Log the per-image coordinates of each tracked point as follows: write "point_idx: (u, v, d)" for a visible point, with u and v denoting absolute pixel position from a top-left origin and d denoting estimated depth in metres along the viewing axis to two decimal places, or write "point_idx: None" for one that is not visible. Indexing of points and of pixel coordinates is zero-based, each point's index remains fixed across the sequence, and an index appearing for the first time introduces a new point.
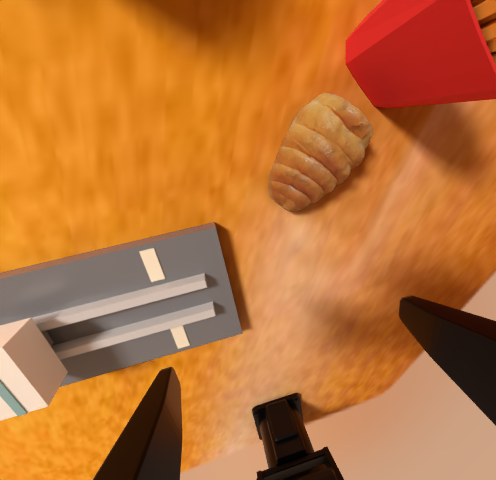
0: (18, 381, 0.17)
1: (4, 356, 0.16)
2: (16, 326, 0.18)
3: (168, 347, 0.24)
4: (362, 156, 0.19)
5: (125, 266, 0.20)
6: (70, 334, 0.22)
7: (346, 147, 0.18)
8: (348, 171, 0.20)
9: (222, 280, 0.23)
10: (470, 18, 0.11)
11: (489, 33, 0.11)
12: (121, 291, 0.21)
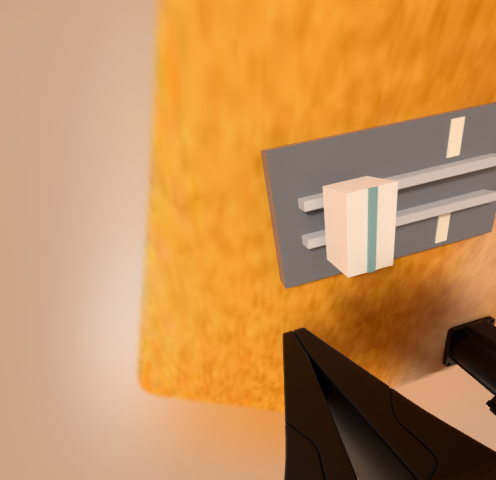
0: (388, 228, 0.16)
1: (393, 194, 0.15)
2: (367, 178, 0.17)
3: (427, 241, 0.23)
4: None
5: (432, 136, 0.20)
6: None
7: None
8: None
9: None
10: None
11: None
12: (418, 166, 0.20)
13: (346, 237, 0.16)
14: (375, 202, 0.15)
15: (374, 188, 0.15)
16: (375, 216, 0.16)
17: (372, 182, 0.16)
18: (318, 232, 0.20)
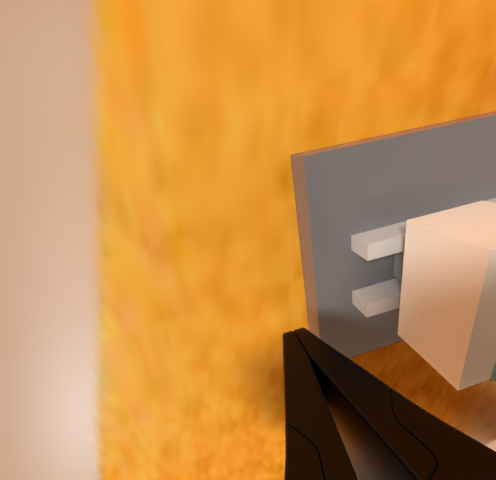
0: None
1: None
2: (493, 208, 0.09)
3: None
4: None
5: None
6: None
7: None
8: None
9: None
10: None
11: None
12: None
13: (468, 326, 0.08)
14: None
15: None
16: None
17: None
18: (379, 286, 0.13)
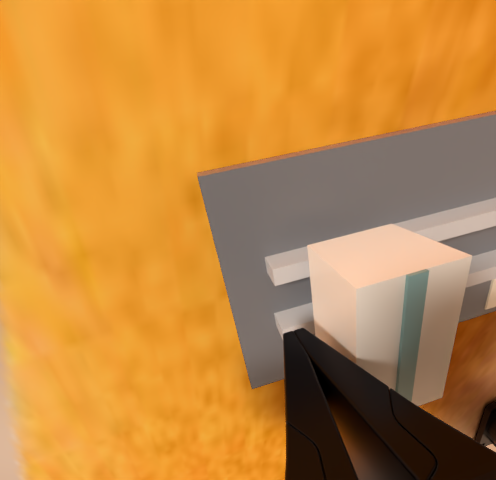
0: (440, 342, 0.08)
1: (460, 281, 0.07)
2: (394, 233, 0.09)
3: (474, 307, 0.15)
4: None
5: None
6: None
7: None
8: None
9: None
10: None
11: None
12: (470, 198, 0.12)
13: None
14: (420, 299, 0.07)
15: (421, 275, 0.06)
16: (417, 325, 0.07)
17: (409, 249, 0.07)
18: (302, 308, 0.12)
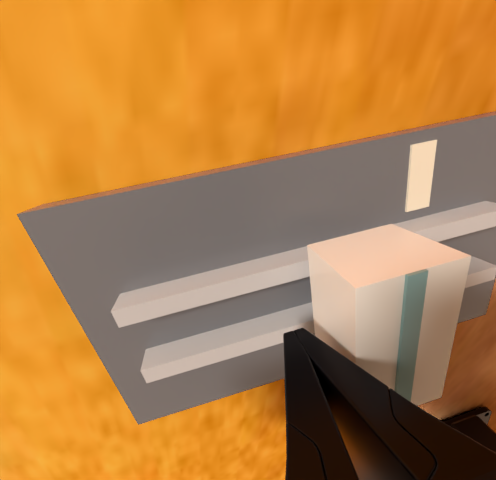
0: (439, 341, 0.08)
1: (459, 281, 0.07)
2: (394, 233, 0.09)
3: None
4: None
5: (376, 176, 0.11)
6: (249, 309, 0.12)
7: None
8: None
9: None
10: None
11: None
12: (353, 228, 0.11)
13: None
14: (420, 299, 0.07)
15: (420, 275, 0.06)
16: (417, 325, 0.07)
17: (409, 249, 0.08)
18: (174, 344, 0.11)
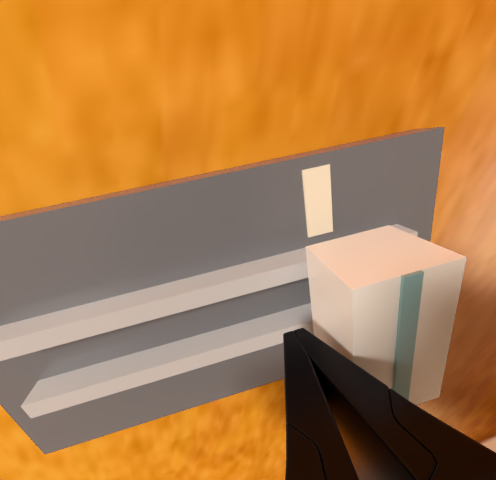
0: (437, 342, 0.08)
1: (455, 282, 0.07)
2: (391, 235, 0.09)
3: None
4: None
5: (268, 202, 0.10)
6: (149, 338, 0.11)
7: None
8: None
9: None
10: None
11: None
12: (252, 255, 0.11)
13: None
14: (416, 300, 0.07)
15: (416, 276, 0.07)
16: (414, 325, 0.07)
17: (405, 251, 0.08)
18: (67, 376, 0.11)
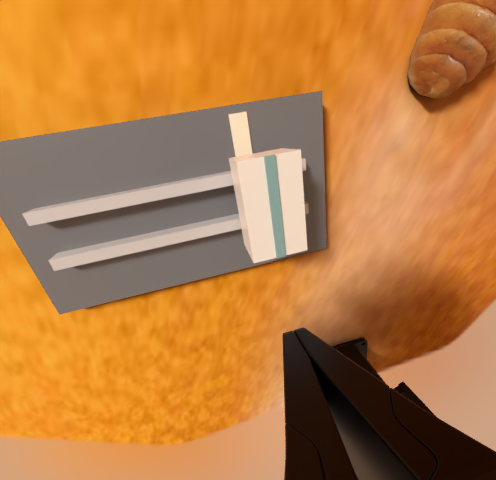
0: (295, 206, 0.14)
1: (297, 165, 0.13)
2: (278, 150, 0.15)
3: (242, 259, 0.20)
4: None
5: (208, 135, 0.16)
6: (131, 228, 0.17)
7: None
8: None
9: (317, 171, 0.18)
10: None
11: None
12: (199, 172, 0.17)
13: (245, 215, 0.14)
14: (276, 174, 0.13)
15: (271, 157, 0.12)
16: (278, 191, 0.13)
17: (276, 152, 0.14)
18: (77, 249, 0.17)
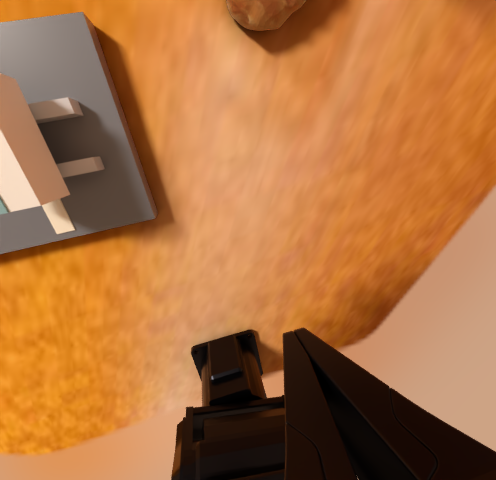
0: None
1: None
2: None
3: (41, 231, 0.17)
4: None
5: None
6: None
7: None
8: None
9: (109, 119, 0.15)
10: None
11: None
12: None
13: None
14: None
15: None
16: None
17: None
18: None
